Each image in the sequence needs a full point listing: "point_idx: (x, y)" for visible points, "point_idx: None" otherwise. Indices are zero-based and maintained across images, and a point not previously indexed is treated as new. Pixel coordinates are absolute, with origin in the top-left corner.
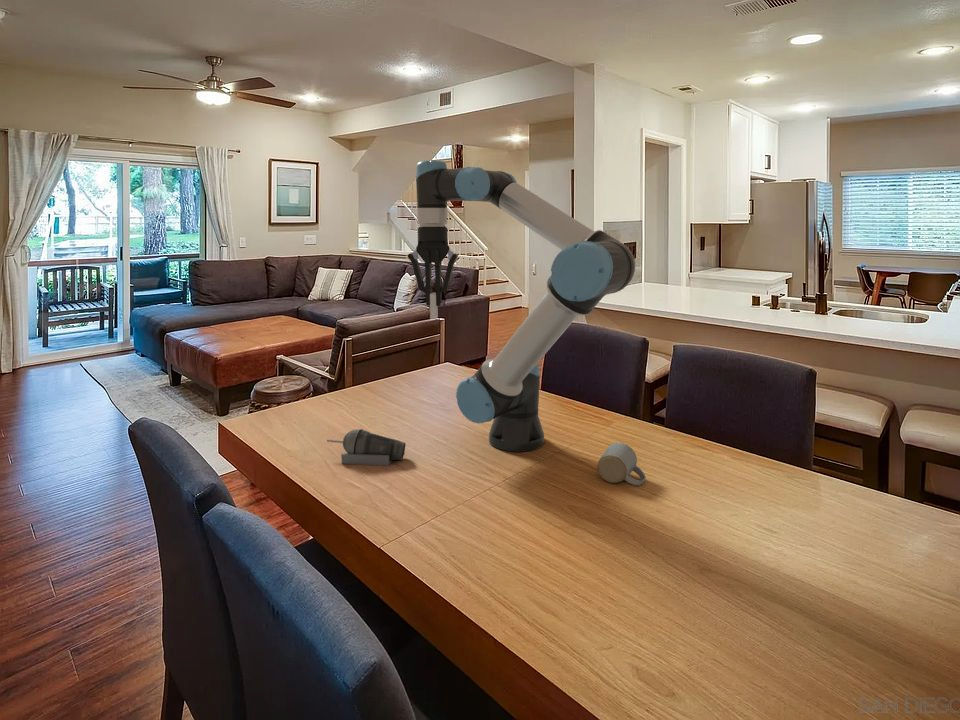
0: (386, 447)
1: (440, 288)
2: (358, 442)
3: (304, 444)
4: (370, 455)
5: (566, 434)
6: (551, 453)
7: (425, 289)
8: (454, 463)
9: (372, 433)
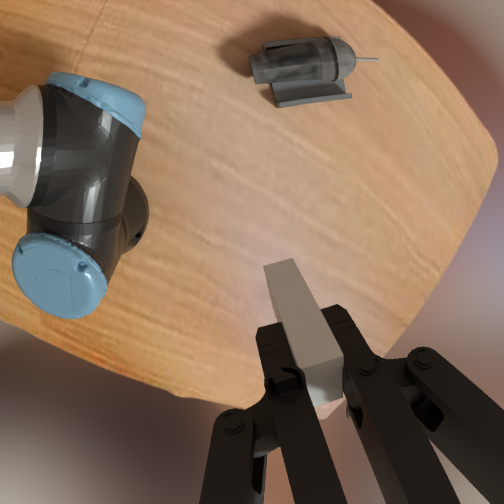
0: (276, 49)
1: (274, 423)
2: (323, 39)
3: (412, 99)
4: (295, 39)
5: None
6: None
7: (389, 369)
8: (163, 87)
9: (316, 67)
